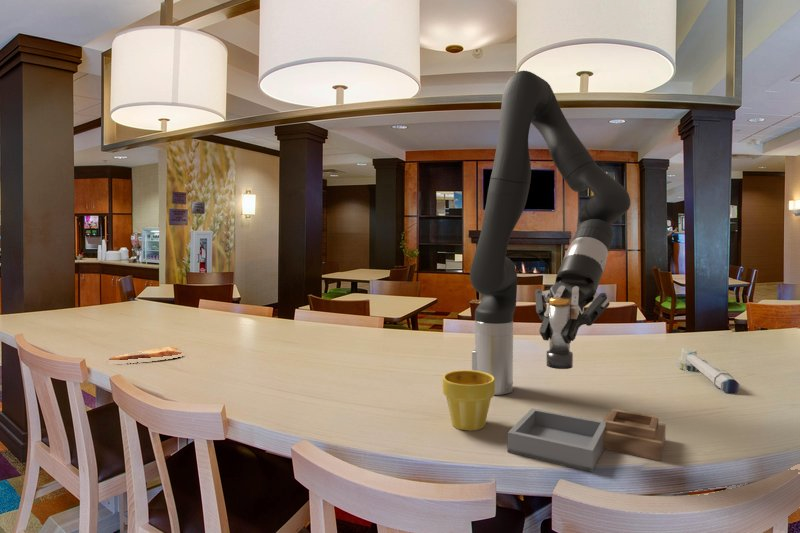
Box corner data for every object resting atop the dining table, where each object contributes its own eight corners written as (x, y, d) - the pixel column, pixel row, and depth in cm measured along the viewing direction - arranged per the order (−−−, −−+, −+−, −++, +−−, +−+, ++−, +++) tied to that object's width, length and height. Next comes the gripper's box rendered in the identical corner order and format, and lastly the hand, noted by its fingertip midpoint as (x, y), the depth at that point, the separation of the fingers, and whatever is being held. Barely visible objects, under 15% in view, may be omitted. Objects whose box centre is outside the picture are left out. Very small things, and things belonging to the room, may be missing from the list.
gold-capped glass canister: (542, 366, 84) (542, 299, 84) (551, 361, 88) (551, 296, 87) (567, 370, 82) (568, 300, 81) (576, 364, 85) (576, 298, 85)
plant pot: (489, 438, 89) (489, 386, 89) (436, 430, 93) (436, 381, 93) (498, 418, 99) (499, 372, 99) (450, 412, 103) (450, 367, 102)
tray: (507, 452, 84) (507, 432, 83) (531, 425, 95) (531, 408, 95) (592, 472, 76) (592, 450, 76) (607, 440, 88) (607, 422, 88)
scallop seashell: (101, 365, 146) (100, 353, 146) (149, 352, 163) (148, 341, 163) (146, 370, 141) (146, 357, 140) (191, 356, 158) (191, 344, 157)
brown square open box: (597, 447, 85) (597, 422, 85) (606, 428, 93) (607, 406, 93) (661, 461, 80) (661, 434, 79) (665, 439, 88) (665, 415, 88)
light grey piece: (720, 378, 114) (674, 342, 138) (717, 404, 115) (673, 363, 140) (743, 379, 113) (694, 342, 138) (740, 405, 115) (692, 364, 139)
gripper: (541, 252, 94) (510, 322, 86) (616, 252, 85) (590, 331, 76) (553, 277, 98) (525, 346, 90) (626, 280, 89) (601, 357, 80)
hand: (555, 338), depth 83 cm, fingers closed on gold-capped glass canister, 3 cm apart
